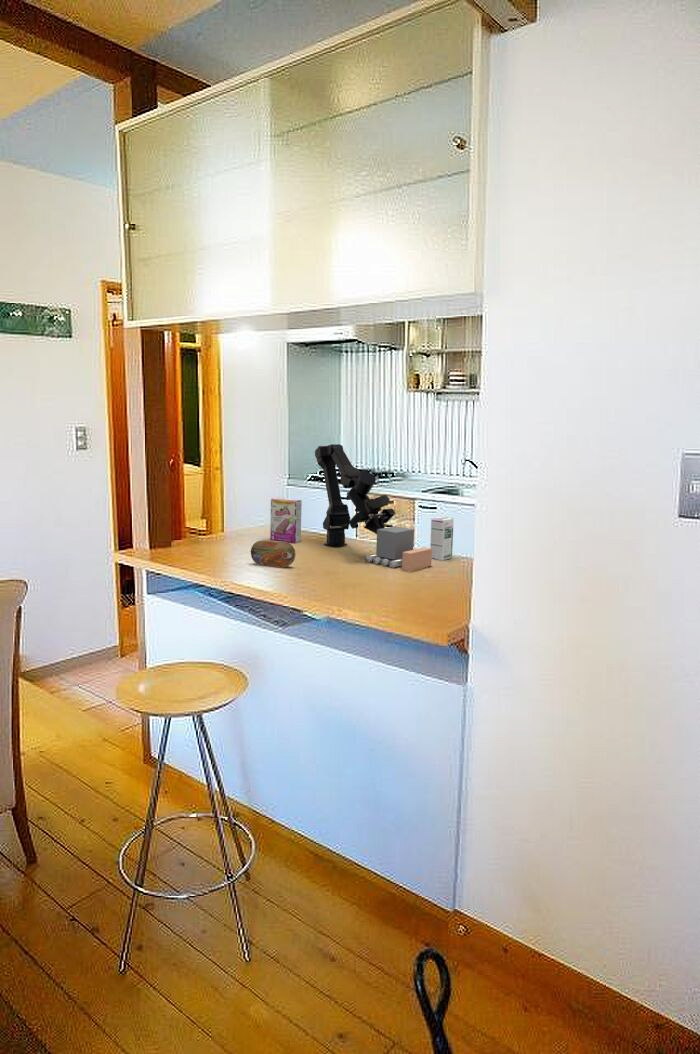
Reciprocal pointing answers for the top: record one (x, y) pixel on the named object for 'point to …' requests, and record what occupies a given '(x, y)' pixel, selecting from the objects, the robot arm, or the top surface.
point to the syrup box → (441, 537)
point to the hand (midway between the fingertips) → (385, 537)
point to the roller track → (384, 560)
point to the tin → (273, 553)
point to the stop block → (416, 559)
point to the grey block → (394, 542)
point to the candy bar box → (285, 520)
